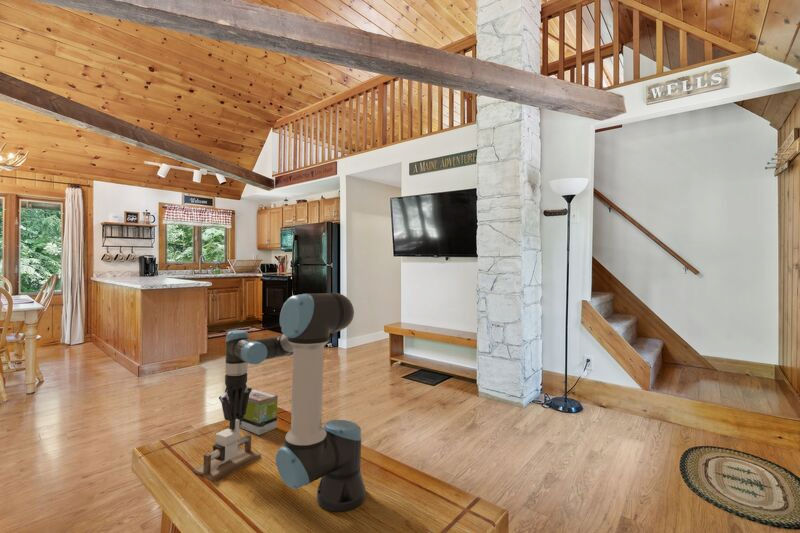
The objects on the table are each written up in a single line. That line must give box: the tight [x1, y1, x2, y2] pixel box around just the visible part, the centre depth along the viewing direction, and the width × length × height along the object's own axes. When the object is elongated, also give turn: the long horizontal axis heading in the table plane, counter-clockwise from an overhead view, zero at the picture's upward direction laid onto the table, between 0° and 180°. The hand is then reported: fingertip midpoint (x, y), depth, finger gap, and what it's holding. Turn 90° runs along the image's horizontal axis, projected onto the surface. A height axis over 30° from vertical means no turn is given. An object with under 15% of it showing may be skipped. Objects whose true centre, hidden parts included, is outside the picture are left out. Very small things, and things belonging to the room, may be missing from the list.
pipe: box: [208, 435, 249, 460], centre depth 138 cm, size 3×16×3 cm, turn 154°
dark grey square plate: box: [212, 444, 225, 461], centre depth 134 cm, size 5×1×5 cm, turn 64°
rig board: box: [192, 433, 262, 482], centre depth 138 cm, size 12×19×7 cm, turn 154°
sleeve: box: [214, 428, 239, 462], centre depth 137 cm, size 5×5×9 cm
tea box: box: [239, 388, 279, 436], centre depth 169 cm, size 15×10×15 cm, turn 58°
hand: (234, 436), depth 140 cm, fingers closed
